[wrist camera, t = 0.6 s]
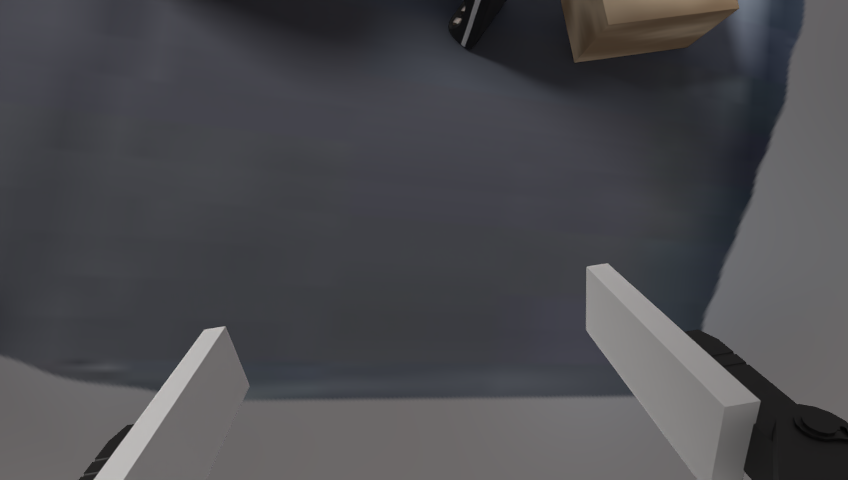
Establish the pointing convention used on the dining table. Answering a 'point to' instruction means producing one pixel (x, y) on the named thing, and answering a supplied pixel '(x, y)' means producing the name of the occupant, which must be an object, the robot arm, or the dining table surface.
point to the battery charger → (473, 20)
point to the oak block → (639, 25)
